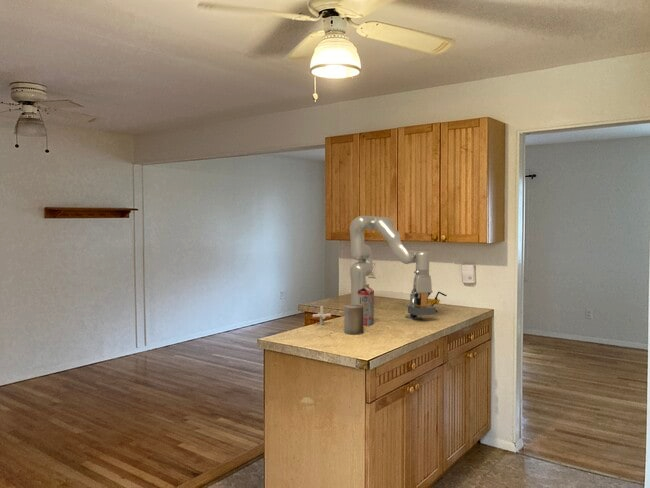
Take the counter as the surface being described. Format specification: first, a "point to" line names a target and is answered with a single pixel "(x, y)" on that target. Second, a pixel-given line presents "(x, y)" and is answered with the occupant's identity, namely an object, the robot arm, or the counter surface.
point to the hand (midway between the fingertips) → (421, 304)
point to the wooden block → (423, 300)
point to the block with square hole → (418, 309)
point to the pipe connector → (321, 315)
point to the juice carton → (367, 304)
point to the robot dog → (435, 300)
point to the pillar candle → (353, 319)
